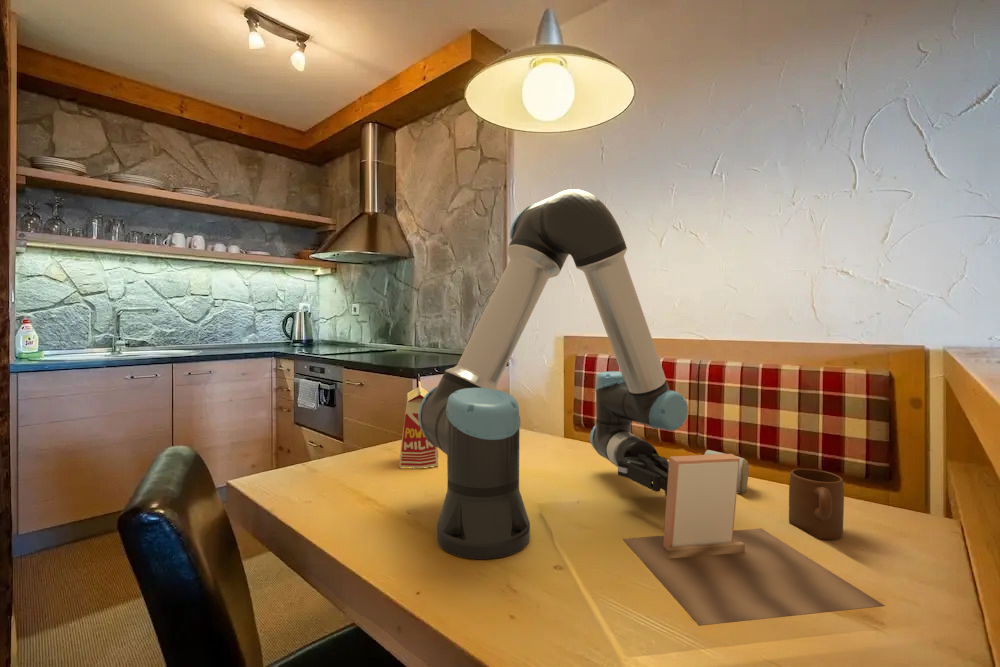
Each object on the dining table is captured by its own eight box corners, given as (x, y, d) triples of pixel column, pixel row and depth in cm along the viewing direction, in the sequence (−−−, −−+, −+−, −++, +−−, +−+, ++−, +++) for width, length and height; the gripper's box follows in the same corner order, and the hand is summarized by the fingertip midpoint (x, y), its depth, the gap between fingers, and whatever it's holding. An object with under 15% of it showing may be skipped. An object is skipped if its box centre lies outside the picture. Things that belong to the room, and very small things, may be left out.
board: (698, 635, 52) (699, 614, 52) (622, 546, 73) (622, 531, 73) (884, 615, 56) (885, 595, 56) (761, 535, 77) (761, 521, 77)
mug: (856, 558, 70) (857, 495, 69) (796, 547, 73) (797, 487, 73) (836, 525, 81) (838, 471, 80) (785, 518, 84) (786, 465, 84)
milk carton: (402, 459, 119) (401, 380, 119) (438, 457, 120) (438, 380, 120) (398, 470, 110) (397, 385, 110) (438, 469, 111) (437, 385, 111)
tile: (670, 554, 68) (676, 462, 67) (663, 545, 71) (669, 456, 69) (733, 548, 70) (741, 459, 68) (724, 540, 72) (731, 453, 70)
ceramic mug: (744, 499, 93) (745, 460, 93) (700, 490, 97) (700, 453, 97) (750, 484, 101) (751, 449, 101) (709, 477, 106) (710, 443, 106)
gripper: (662, 472, 95) (739, 521, 72) (601, 475, 93) (660, 527, 70) (662, 435, 95) (740, 473, 72) (601, 438, 93) (661, 477, 70)
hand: (701, 499), depth 71 cm, fingers closed
